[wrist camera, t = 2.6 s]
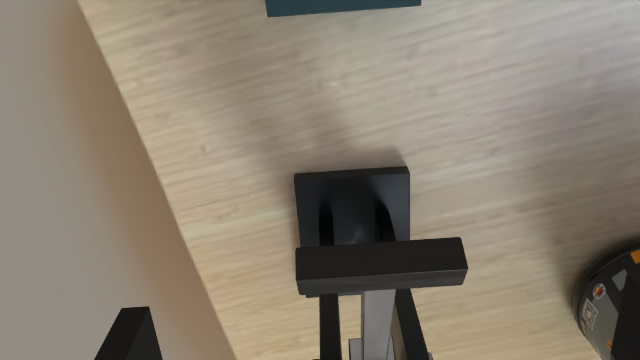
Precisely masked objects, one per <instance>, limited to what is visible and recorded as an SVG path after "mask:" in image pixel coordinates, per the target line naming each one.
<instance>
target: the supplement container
mask: <svg viewBox="0 0 640 360" xmlns="http://www.w3.org/2000/svg"><path fill="white" fill-rule="evenodd" d="M629 274H640V240H635V241H631V242H628V243H625V244H622V245H620V246H618V247H616V248H614V249H612V250H610V251H608V252H607V253H605V254H604V255H602V256H601V257H599V258H598V259H597V260H596V261H595V262H593V263H592V264H591V266H590V267H589V268H588V269H587V270H586V271H585V272H584V274H583V275H582V277H581V278H580V280H579V282H578V284H577V287H576V289H575V292H574V297H573V314H574V318H575V321H576V323H577V326H578V327H579V329H580V331H581V332H582V334H583V335H584V336H585V337H586V339H587V340H588V341H589V342H590V343H591V345H592V346H593V348H594V349H595V351H596V352H597V353H598V355H599V356H600V358H601V359H602V360H615V359H614V357H613V356H612V354H611V353H610V352H611V347H612V342H613V337H614V332H615V327H616V323H617V318H618V313H619V308H620V303H621V298H622V294H623V289H624V284H625V279H626V275H629Z"/></svg>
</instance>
